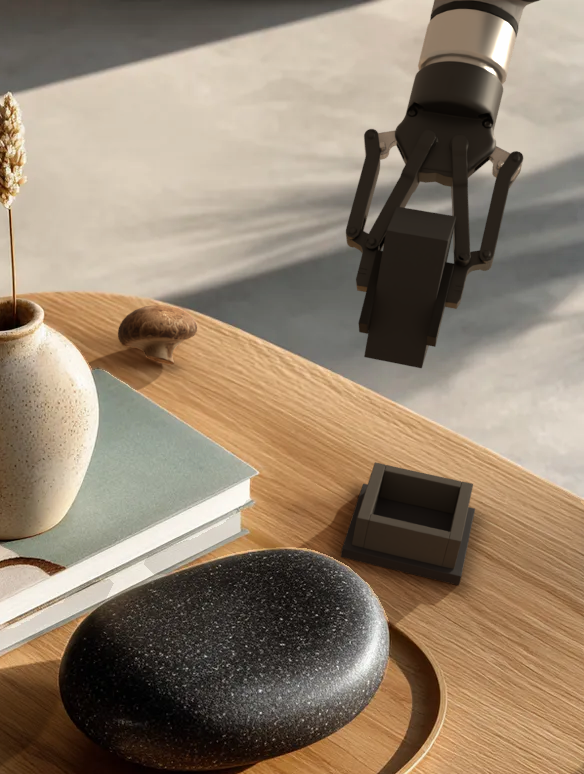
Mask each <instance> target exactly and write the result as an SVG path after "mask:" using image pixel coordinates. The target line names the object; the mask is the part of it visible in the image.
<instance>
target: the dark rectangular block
mask: <svg viewBox="0 0 584 774" xmlns="http://www.w3.org/2000/svg"><path fill="white" fill-rule="evenodd" d="M455 220H456V216H452V214H450V215H449V214H444V213H438V212H432V211H426V210H420V209H414V208H408V207H405V208H403V207H396V209H395V211H394V213H393V216H392V218H391V221H390V223H389V225H388V228H387V230H386V235H385V241H384V246H383V248H382V251H383V253H382V258H381V264H380V270H379V275H378V281H377V287H376V293H375V299H374V305H373V310H372V316H371V322H370V327H369V332H368V334H367V339H366V344H365V349H364V356H363V357H364V358H367V359H372V360H377V361H382V362H387V363H393V364H397V365H403V366H407V367H412V368H418V369H422V368H423V366H424V363H425V360H426V358H427V357H426V356H427V353H428V350H429V347H430V346H428V345H427V335H428V331H429V327H430V323H431V318H432V314H433V310H434V306H435V302H436V298H437V294H438V290H439V286H440V282H441V278H442V274H443V270H444V266H445V262H448V260H449V259H448V258H449V253H450V248H451V244H452V240H453V230H454V225H455Z"/></svg>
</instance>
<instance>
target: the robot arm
mask: <svg viewBox="0 0 584 774" xmlns="http://www.w3.org/2000/svg"><path fill="white" fill-rule="evenodd" d="M539 1H541V0H433V3H432V8H431V11H430V12H431V13H430V17H429V18H430V19H429V22H428V24H427V27H426V31H425V35H424V38H423V43H422V48H421V51H420V56H419V59H418V64H417V67H418V71H417V72H416V73H415V76H414V80H413V83H412V87H411V92H410V96H409V100H408V104H407V108H406V112H405V115H404V117H403V119H402V120H401V122H400V123H398V125H397V126H396V128H395V129H394V130H389V131H384V132H378V130H376V129H374V128H369V129H367V130H366V131H365V132H364V134H363V140H364V141H363V143H364V155H365V157H364V160H363V165H362V169H361V172H360V176H359V180H358V183H357V187H356V191H355V194H354V198H353V201H352V205H351V209H350V213H349V217H348V221H347V224H346V228H345V238H346V239H345V240H346V244H347V246H348V247H350V248H355V249H356V250H358V251H360V253H361V257H360V261H359V265H358V270H357V273H356V276H355V285H356V291H359V292H363V293H365V296H364V299H363V303H362V307H361V311H360V315H359V319H358V331H359V333H361V334H366V335H368V332H369V327H370V322H371V316H372V310H373V305H374V299H375V293H376V287H377V281H378V275H379V270H380V264H381V258H382V253H383V247H384V241H385V235H386V230H387V228H388V225H389V223H390V221H391V218H392V216H393V213H394V211H395V209H396V207H403V208H406V206H407V204H408V203H409V201H410V199H411V197H412V196H413V194H414V193H415V192H416V190H417V188H418V187H419V185H420V183H425V184H426V183H437V184H440V185H442V186H445V187H450V198H451V216H456V220H455V225H454V230H453V235H452V245H453V246H452V247H453V262H448V261H447V262H445V266H444V270H443V274H442V278H441V282H440V286H439V290H438V294H437V298H436V302H435V306H434V310H433V314H432V318H431V323H430V327H429V331H428V335H427V345H428V346H429V347H434V348H436V345H437V342H438V338H439V337H438V336H439V333H440V329H441V326H442V321H443V318H444V313H445V309H446V308H448V309H453V310H457V309H458V307H459V306H460V305H461V302H462V297H463V295H464V294H463V293H464V288H465V285H466V282H467V277H468V275H469V274H470V273H472V272H473V271H474V272H475V271H483V272H486V271H488V270H491V268H492V266H493V262H494V258H495V254H496V249H497V244H498V241H499V237H500V231H501V226H502V222H503V217H504V213H505V208H506V204H507V200H508V195H509V191H510V188H511V187H512V186H513V184H514V182H515V181H516V179H517V178H518V176H519V174H520V173H521V170H522V167H523V162H524V155H523V153H522V152H521V151H517V150H515V151H511V152H508V151H507V150H505V149H502V148H501V147H499V146H497V140H496V137H495V127H496V123H497V118H498V115H499V111H500V106H501V103H502V97H503V94H504V86H503V84H504V83H506V81H507V78H508V72H509V69H510V65H511V61H512V57H513V52H514V49H515V45H516V41H517V36H518V32H519V26H520V21H521V19H522V15H523V12H524V9H525V8H526V6H529V5H531V4H533V3H537V2H539ZM395 146H396V147H397V150H398V152H399V154H400V156H401V158H402V161H403V162H404V167H403V169H402V170H401V172H400V176H399V178H398V180H397V182H396V183H395V185H394V186H393V189H392V191H391V192H390V194H389V195H388V197H387V200H386V201H385V203H384V205H383V207H382V209H381V211H380V212H379V214H378V215H377V218H376V219H375V221H374V223H373V225H372V227H371V229H370V230H369V232H367V231H365V227H366V223H367V220H368V216H369V213H370V208H371V205H372V201H373V198H374V195H375V194H374V193H375V189H376V186H377V182H378V180H379V179H378V178H379V175H380V170H381V160H382V161H383V160H385V159H387V158H388V157H389V155H390V151H391V149H392V148H393V147H395ZM488 162H491V164H492V168H491V174H492V176H493V177H494V178H495V181H494V184H493V185H494V186H493V190H492V194H491V198H490V203H489V208H488V213H487V216H486V220H485V227H484V230H483V234H482V239H481V243H480V248H479V250H474V251H471V239H470V238H471V237H470V236H471V235H470V234H471V233H470V207H469V178H470V177H472V175H474V174H475V173H476V172H477V171H478V170H479V169H481V168H482V167H483V166H484V165H485V164H487V163H488Z"/></svg>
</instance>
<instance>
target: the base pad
mask: <svg viewBox="0 0 584 774" xmlns="http://www.w3.org/2000/svg"><path fill="white" fill-rule="evenodd" d="M473 489H474V483H472V482H467V481H461V480H457V479H453V478H448V477H443V476H439V475H434V474H430V473H425V472H420V471H416V470H412V469H407V468H402V467H398V466H395V465H394V466H393V465H389V464H385V463H381V462H374V464H373V467H372V470H371V472H370V475H369V479H368V482H367V483H362V485H361V488H360V491H359V495H358V498H357V501H356V503H355V504H356V505H355V507H354V510H353V513H352V516H351V519H350V522H349V526H348V529H347V532H346V535H345V537H344V541H343V544H342V547H341V552H340V558H343V559H347V560H350V561H355V562H359V563H364V564H367V565H371V566H372V565H373V566H375V567H376V566H377V567H380V568H384V569H388V570H393V571H397V572H401V573H404V574H409V575H414V576H418V577H422V578H427V579H430V580H435V581H439V582H443V583H446V584H451V585H455V586H459V585H460V583H461V580H462V575H463V571H464V566H465V560H466V555H467V551H468V547H469V543H470V536H471V532H472V527H473V521H474V518H475V514H476V513H475V512H476V508H474V507H471V506H470V501H471V497H472V492H473Z"/></svg>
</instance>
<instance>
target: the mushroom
mask: <svg viewBox="0 0 584 774" xmlns="http://www.w3.org/2000/svg"><path fill="white" fill-rule="evenodd" d="M197 325H198V324H197V322H196V320H195V319H194V317H193V316H192V315H191V314H190V313H189V312H187V311H185V310H184V309H180V308H179V307H176V306H169V305H162V304H161V305H145V306H142V307H139V308H137V309H134V310H133V311H131V312H130V313H128V314H127V315H126V316H125V317H124V318H123V319H122V320H121V322H120V324H119V326H118V328H117V329H118V330H117V338H118V341H119V343H120V344H121V345H122V346H126V347H128V348H135V349H138V350H140V351H142V352H143V354H144V356H145V357H146V358H148V359H149V360H153V361H156V362H160V363H162V364H167V365H175V361H174V357H173V355H174V354H173V353H174V350H175V349H176V348H177V347H178V346H179V345H180V344H181V343H183V342H185V341H187V340H189V339H191V338H193V337H195V335H196V334H197V331H198V326H197Z"/></svg>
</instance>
